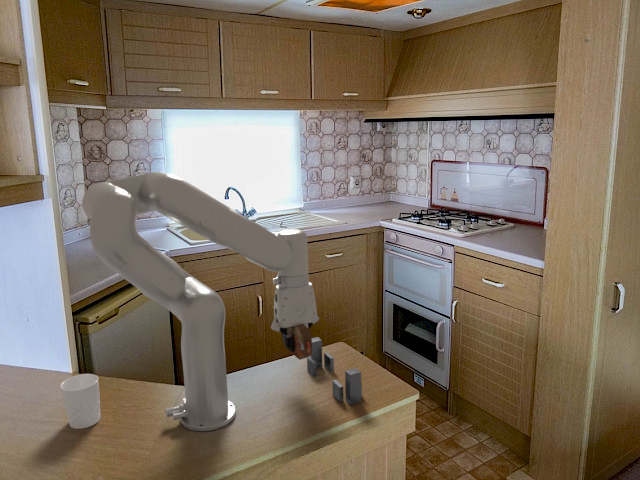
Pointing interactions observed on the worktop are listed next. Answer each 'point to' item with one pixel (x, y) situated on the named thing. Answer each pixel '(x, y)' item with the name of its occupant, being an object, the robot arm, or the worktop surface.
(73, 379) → the white cup
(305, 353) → the tin
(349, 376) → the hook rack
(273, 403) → the worktop surface
